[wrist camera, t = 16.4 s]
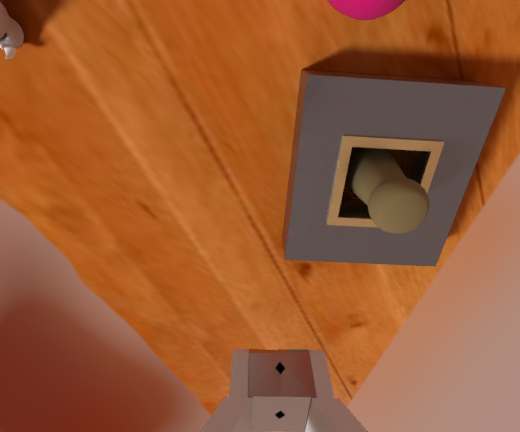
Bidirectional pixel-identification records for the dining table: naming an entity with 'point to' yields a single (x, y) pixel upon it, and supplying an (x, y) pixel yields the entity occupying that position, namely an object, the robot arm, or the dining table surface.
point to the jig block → (384, 137)
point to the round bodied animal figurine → (9, 34)
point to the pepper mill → (365, 8)
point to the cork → (386, 190)
